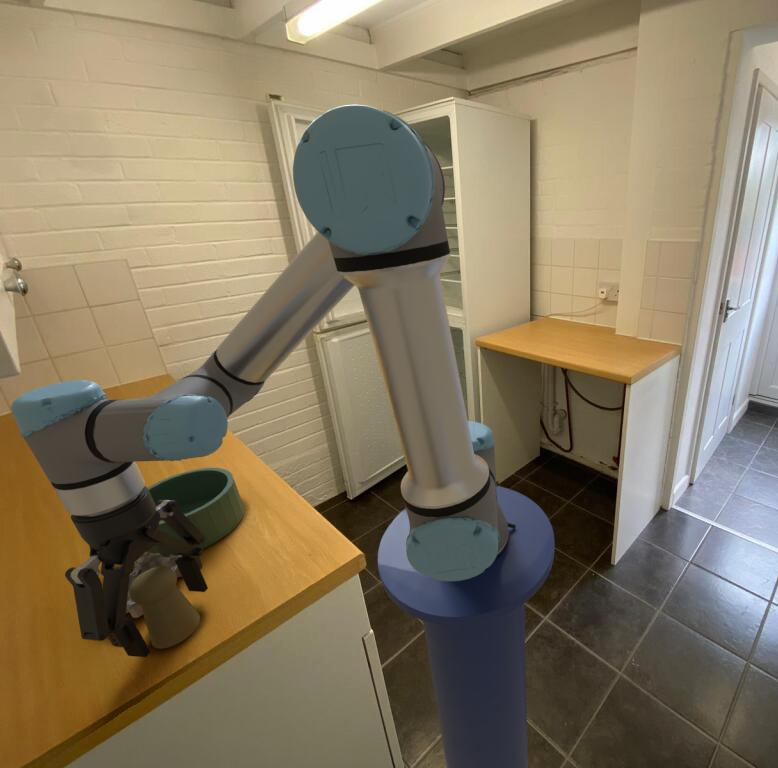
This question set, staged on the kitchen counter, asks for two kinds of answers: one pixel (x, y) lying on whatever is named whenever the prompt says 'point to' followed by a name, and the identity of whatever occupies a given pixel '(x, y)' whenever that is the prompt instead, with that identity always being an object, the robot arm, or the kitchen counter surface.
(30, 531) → the kitchen counter surface
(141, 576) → the cork
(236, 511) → the green round bowl
